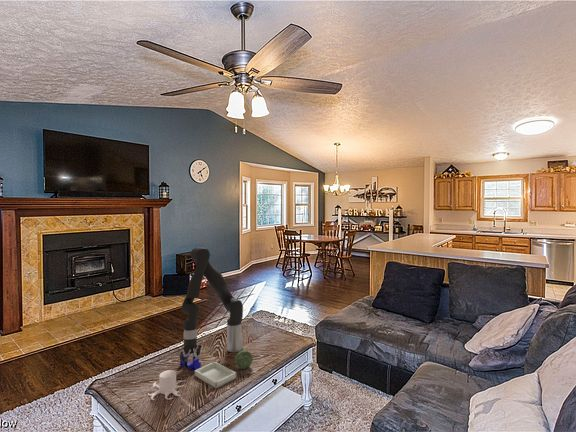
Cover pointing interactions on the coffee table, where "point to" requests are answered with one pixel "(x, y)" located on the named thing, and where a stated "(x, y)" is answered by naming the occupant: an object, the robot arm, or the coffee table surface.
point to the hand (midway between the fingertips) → (190, 365)
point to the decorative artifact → (243, 359)
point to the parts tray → (215, 374)
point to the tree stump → (167, 384)
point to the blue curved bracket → (192, 364)
